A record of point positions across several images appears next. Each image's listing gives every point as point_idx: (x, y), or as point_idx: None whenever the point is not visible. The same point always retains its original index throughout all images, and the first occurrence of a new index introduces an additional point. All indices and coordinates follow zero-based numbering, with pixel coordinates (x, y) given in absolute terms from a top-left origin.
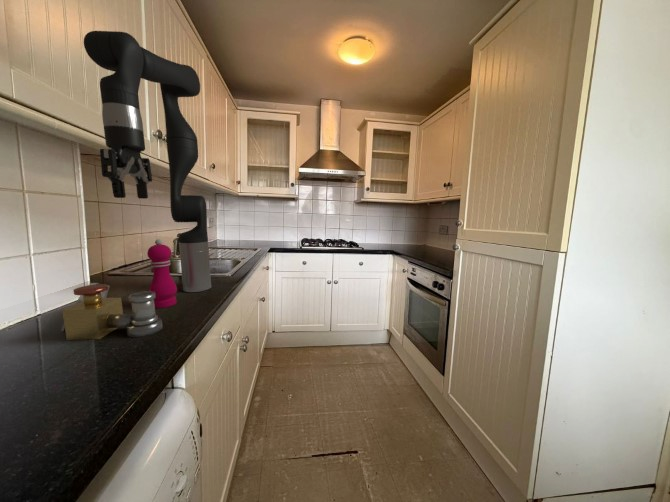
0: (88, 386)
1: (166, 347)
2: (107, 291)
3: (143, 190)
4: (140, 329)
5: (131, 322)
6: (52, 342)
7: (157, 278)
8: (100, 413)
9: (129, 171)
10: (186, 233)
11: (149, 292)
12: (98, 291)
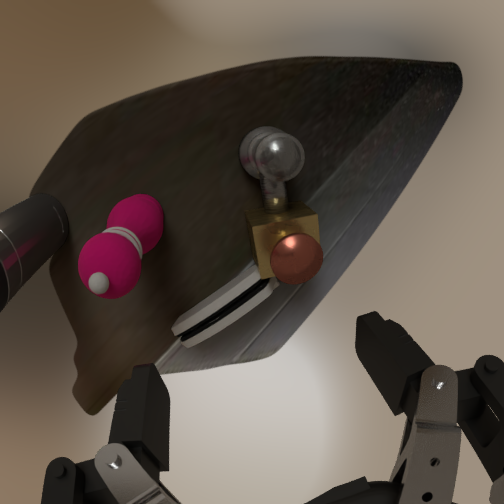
0: (395, 116)
1: (315, 79)
2: (179, 321)
3: (151, 409)
4: None
5: None
6: None
7: (146, 233)
8: (420, 77)
9: (364, 480)
10: None
11: (266, 151)
12: (306, 234)
